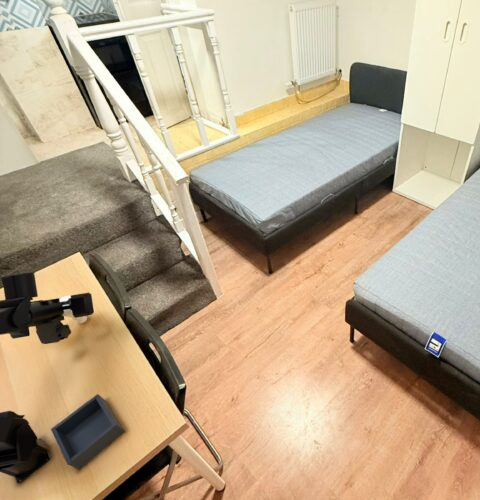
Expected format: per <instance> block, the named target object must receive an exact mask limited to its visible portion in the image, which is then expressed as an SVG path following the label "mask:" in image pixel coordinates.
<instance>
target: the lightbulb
mask: <svg viewBox="0 0 480 500" xmlns="http://www.w3.org/2000/svg"><path fill="white" fill-rule="evenodd" d="M69 298H71V294H70V295H65V296H62V297H61V298H59V300H60V302H63V301H68V299H69ZM68 305H69V304H68ZM63 306H67V304H66V305H63ZM63 311H64V314H63V315H64V317H65V318H66V317H67V318H71V319H72V320H74V321H75V322H77V323H78V324H83V323H85V322H87V320H88V316H83V317H77V318H75V317H74V316H73V314H72V310H70V309H67V310H63Z"/></svg>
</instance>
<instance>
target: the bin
mask: <svg viewBox="0 0 480 500" xmlns="http://www.w3.org/2000/svg"><path fill="white" fill-rule="evenodd" d="M50 430H51V433H52V435H53V437H54V439H55V441H56V444H57V445H58V448H59V449H60V452H61V454H62V456H63V458H64V460H65V462H66V464H67V465H68V466H70V467H72V468H74V469H75V470H78V471H81V470H82V469H83V468H84V467H85V466H86V465H88V463H90V462H91V461H92V460H93V459H94V458H96V457H97V456H98V455H99V454H100V453H101V452H103V451H104V450H105V449H107V447H109V446H110V445H111V444H112V443H113V442H115V441H116V440H117V439H118V438H119V437H121V436H122V435H123V434H124V433H125V432H126V430H125V428H124V427H123V425H122V423H121V422H120V420H119V419H118V417H117V415H116V414H115V412H114V410H113V408H111V406H110V404H109V403H108V401H107V400H106V399H104V397H102V396H101V395H99V394H98V393H96V394H95V395H94V396H92V397H91V398H90V399H89V400H88V401H86V402H85V403H83V404H82V405H80V406H79V407H78V408H77V409H75V410H74V411H73V412H72V413H70V414H69V415H67V416H66V417H65V418H64V419H62V420H61V421H60V422H58V423H57V424H55V425H54V426H53V427H51V428H50Z"/></svg>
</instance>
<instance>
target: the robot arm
mask: <svg viewBox="0 0 480 500" xmlns="http://www.w3.org/2000/svg"><path fill="white" fill-rule="evenodd" d="M1 284H2V287H3V293H4V299H3V300H2V299H0V336H3V335H8V334H9V336H10V338H11V339H21V338H25V337H27V338H28V337H30V335H31V333H30V328H33V327H35V334H36V335H37V337H38V340H39V342H40V343H41V344H42V345H49V344H50V345H51V344H55V343H59V342H60V341H64V340H66V339H68V338H69V336H70V335H71V334H72V329H71V327H70V326H69V324H64V323H63V321H65V316H64V315H63V314H64V311H63V310H67V309H70V310H72V314H73V316H74V317H75V318H77V317H83V316H86V317H88V316H92V315H94V313H95V310H94V303H93V297H92V293H90V292H82V293H76V294H72V295H71V294H70V295H71V298H69V299H68V301H63V302H60V298H59V297H58V298H50V299H45V300H43V299H40V300H34V298H38V297H39V295H38V287H37V281H36V275H35V272H25V273H17V274H11V275H3V276H1ZM66 304H67V306H63V305H66ZM68 304H69V305H68ZM50 460H51V456H50V453H49V447H48V445H47V443H46V441H44V440H43V439H42V438H38V436H37V434H36V432H34V430H33V428H32V426H31V425H30V422H29V421H28V420H27V418H25V414H18V413H16V412H15V411H12V410H7V411H6V410H5V411H1V412H0V473H1V474H4V475H7V476H10V477H12V478H13V477H14V479H15V482H16V484H19V485H20V484H22V483H23V482H25V481H26V480H27V479H29V477H31V476H32V475H34V473H36V472H37V471H38V470H40V469H41V468H42V467H44V465H46V464H47V463H48V462H50Z"/></svg>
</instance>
